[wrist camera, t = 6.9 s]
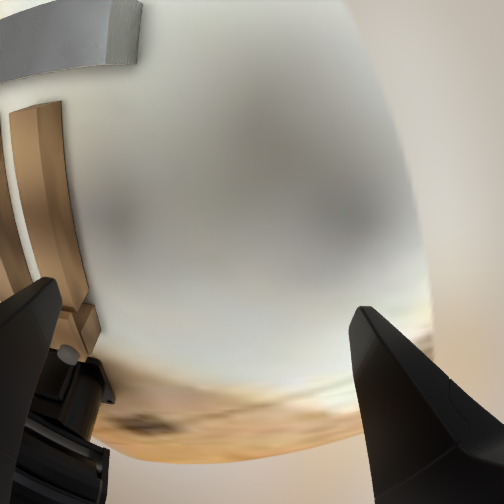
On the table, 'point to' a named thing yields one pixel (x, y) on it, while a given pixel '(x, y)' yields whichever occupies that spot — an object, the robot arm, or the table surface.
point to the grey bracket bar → (68, 37)
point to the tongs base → (16, 272)
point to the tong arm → (50, 215)
